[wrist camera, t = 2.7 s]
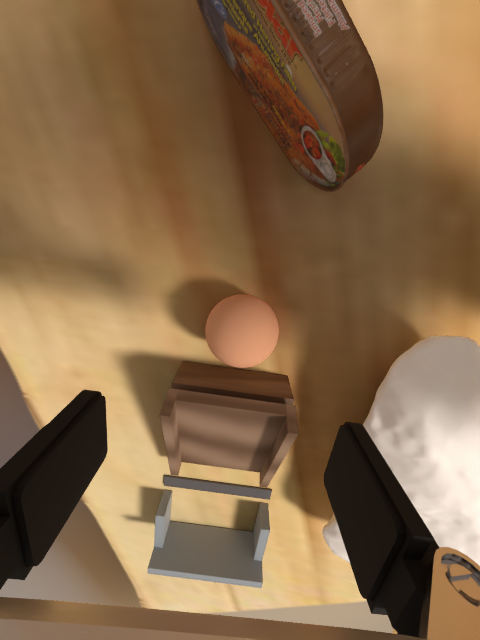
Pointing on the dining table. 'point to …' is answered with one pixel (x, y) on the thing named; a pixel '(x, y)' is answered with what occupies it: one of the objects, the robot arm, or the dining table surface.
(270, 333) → the ball
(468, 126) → the dining table surface
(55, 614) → the robot arm
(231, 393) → the ramp
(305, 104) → the tin
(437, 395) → the white flat lumpy piece
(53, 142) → the dining table surface
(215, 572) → the box
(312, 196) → the dining table surface
